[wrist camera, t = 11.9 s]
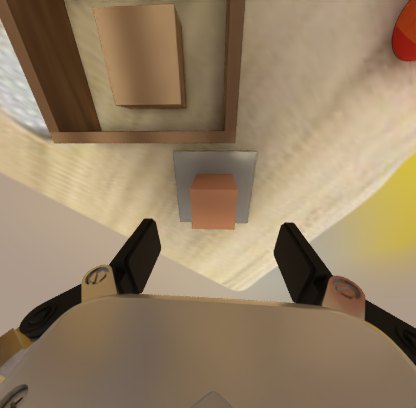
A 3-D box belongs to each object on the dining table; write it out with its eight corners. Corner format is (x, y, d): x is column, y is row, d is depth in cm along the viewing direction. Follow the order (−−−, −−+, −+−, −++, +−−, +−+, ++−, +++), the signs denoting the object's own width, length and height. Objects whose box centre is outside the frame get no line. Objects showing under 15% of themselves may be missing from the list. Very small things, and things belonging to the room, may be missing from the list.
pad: (255, 151, 20) (257, 151, 19) (246, 220, 25) (247, 223, 24) (174, 151, 21) (172, 151, 20) (181, 219, 26) (180, 221, 25)
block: (232, 174, 21) (238, 189, 16) (230, 206, 23) (234, 229, 18) (196, 173, 21) (189, 189, 16) (197, 205, 23) (192, 228, 18)
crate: (239, -33, 13) (254, -141, 8) (229, 139, 20) (235, 142, 14) (46, -23, 14) (-57, -114, 9) (96, 139, 20) (54, 143, 15)
